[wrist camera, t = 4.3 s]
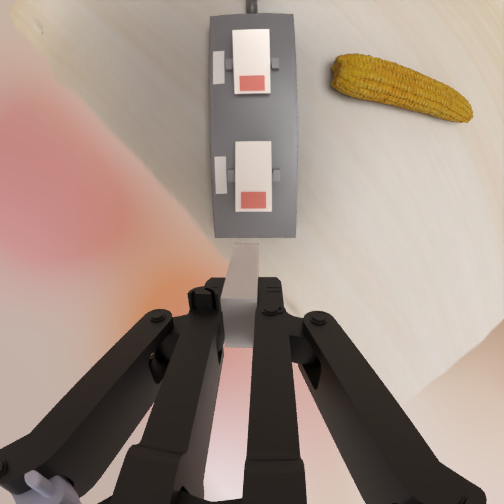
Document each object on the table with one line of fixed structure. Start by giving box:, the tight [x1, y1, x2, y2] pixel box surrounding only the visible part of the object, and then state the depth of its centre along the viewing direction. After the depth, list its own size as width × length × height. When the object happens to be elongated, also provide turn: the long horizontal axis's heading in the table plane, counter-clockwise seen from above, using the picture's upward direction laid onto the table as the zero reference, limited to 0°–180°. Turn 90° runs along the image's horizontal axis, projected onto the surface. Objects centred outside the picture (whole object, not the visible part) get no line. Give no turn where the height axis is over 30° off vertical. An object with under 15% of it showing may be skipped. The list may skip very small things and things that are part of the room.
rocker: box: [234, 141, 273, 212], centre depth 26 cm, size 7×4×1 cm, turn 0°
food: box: [332, 54, 473, 123], centre depth 23 cm, size 21×6×6 cm, turn 90°
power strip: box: [209, 0, 298, 238], centre depth 26 cm, size 32×9×5 cm, turn 1°
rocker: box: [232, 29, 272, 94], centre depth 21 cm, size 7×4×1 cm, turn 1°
